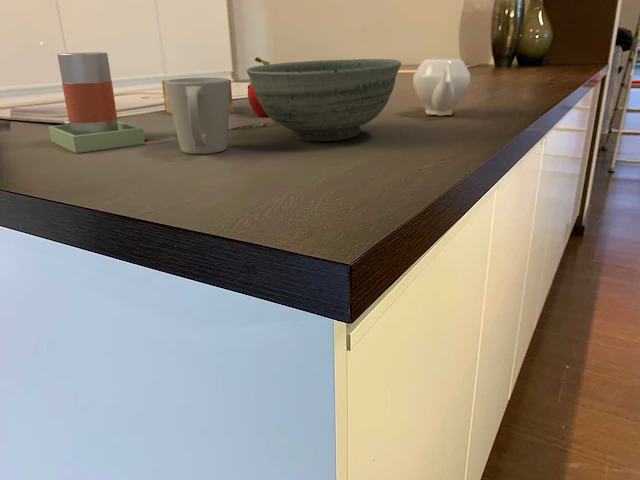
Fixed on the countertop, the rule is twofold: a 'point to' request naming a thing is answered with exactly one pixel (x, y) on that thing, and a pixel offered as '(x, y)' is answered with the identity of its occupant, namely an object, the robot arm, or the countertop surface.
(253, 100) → the red bell pepper
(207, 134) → the cup
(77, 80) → the can
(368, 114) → the bowl
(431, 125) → the countertop surface
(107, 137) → the tray
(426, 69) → the teapot
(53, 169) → the countertop surface
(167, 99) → the holder
